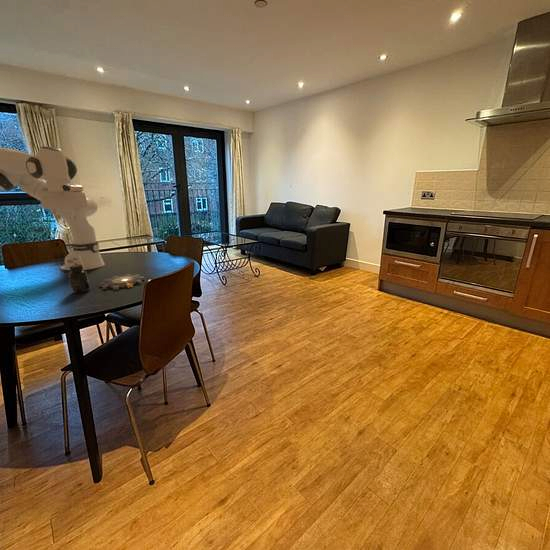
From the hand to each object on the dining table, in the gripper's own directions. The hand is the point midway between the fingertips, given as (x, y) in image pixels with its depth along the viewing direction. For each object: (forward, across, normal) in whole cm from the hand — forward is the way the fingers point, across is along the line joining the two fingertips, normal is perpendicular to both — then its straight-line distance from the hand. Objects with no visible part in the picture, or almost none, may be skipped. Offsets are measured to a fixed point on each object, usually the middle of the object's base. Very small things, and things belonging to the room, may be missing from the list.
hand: (67, 219), depth 133 cm
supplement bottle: (+31, +6, -8) cm, 33 cm away
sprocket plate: (+31, +18, +4) cm, 36 cm away
